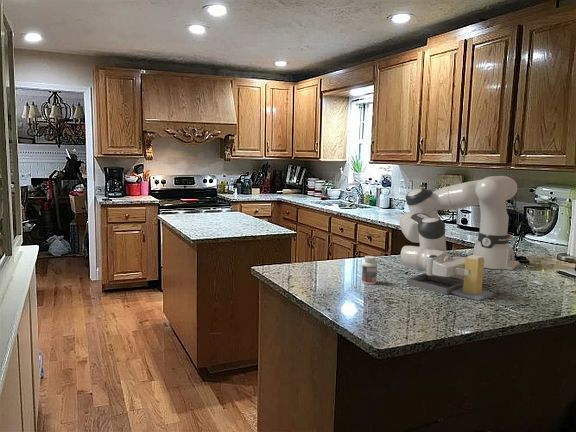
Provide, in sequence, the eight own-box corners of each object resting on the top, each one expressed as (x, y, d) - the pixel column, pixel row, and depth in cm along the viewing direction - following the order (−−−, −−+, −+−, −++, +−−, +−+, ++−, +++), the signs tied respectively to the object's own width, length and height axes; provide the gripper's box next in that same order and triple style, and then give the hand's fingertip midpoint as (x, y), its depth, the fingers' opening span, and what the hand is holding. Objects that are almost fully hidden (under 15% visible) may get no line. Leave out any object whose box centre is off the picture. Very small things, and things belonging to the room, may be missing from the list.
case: (443, 273, 192) (444, 268, 192) (482, 281, 180) (482, 276, 180) (406, 284, 175) (406, 278, 175) (446, 294, 163) (446, 288, 163)
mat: (465, 288, 171) (465, 286, 171) (493, 295, 164) (493, 292, 164) (451, 293, 164) (451, 291, 164) (479, 300, 157) (479, 298, 157)
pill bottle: (360, 280, 178) (361, 255, 177) (374, 280, 179) (375, 255, 177) (363, 284, 173) (364, 258, 172) (378, 284, 173) (379, 258, 172)
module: (469, 289, 167) (472, 254, 165) (481, 292, 164) (484, 256, 162) (462, 291, 164) (465, 256, 162) (475, 294, 161) (478, 258, 159)
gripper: (453, 267, 180) (489, 274, 170) (424, 275, 166) (461, 284, 156) (455, 250, 179) (491, 257, 169) (425, 258, 165) (462, 266, 155)
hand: (476, 270), depth 162 cm, fingers open, 8 cm apart
